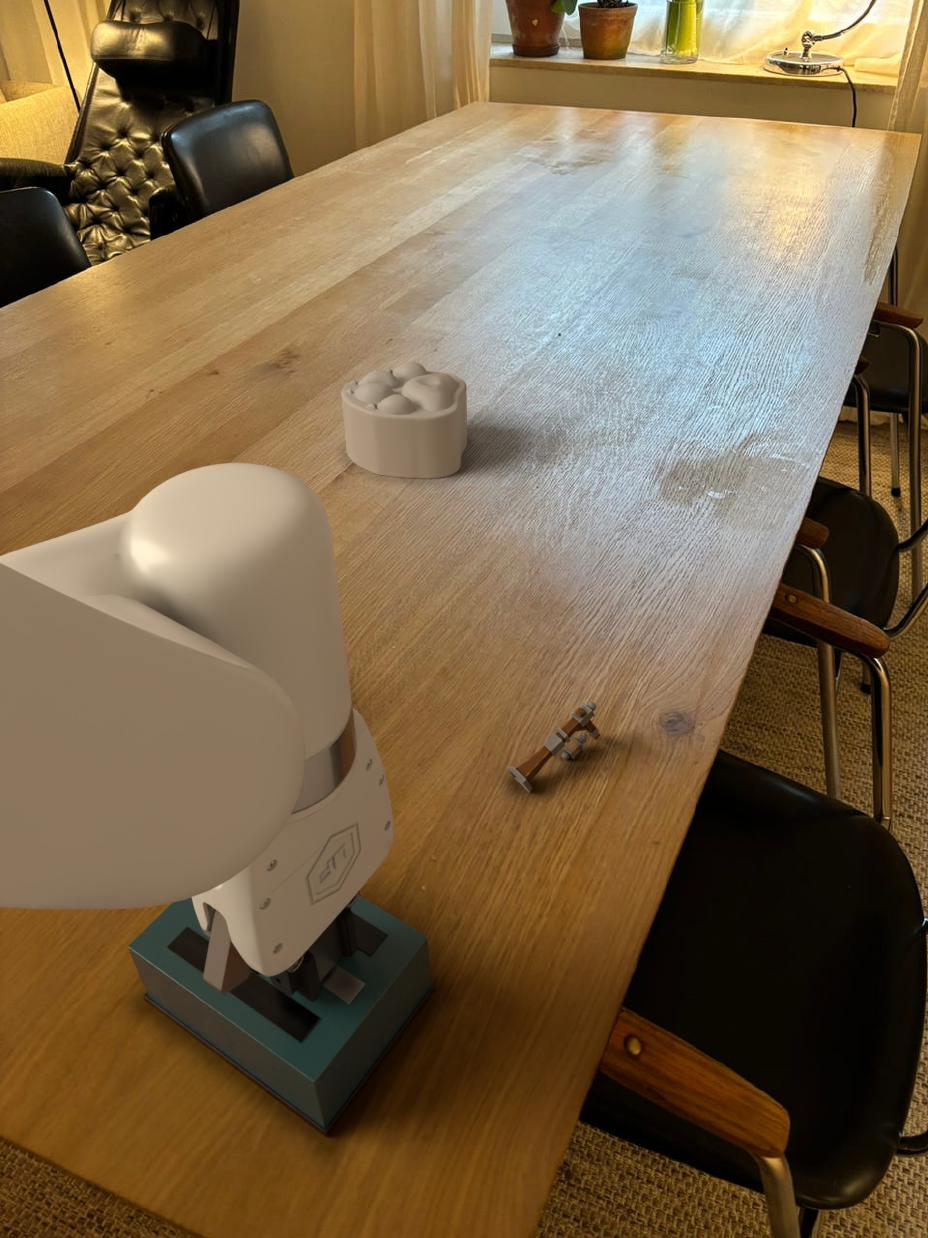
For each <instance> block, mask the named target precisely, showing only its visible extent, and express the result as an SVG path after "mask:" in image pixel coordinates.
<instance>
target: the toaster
mask: <svg viewBox="0 0 928 1238" xmlns="http://www.w3.org/2000/svg"><path fill="white" fill-rule="evenodd" d="M351 911H352V912H353V919H354V925H355V932H356V939H357V945H358V950H357V951H356V952H355V953H354V955H353V956H352V957H350V956H349V957H348V958H346V957H344V956H343V955H342V957H341V958H340V959H339V960H338V961H337V963H336V964H335V965H334V966H333V967H332V969H331V970H330V971H329V972H328V973H327V975H326V976H325V977H324V978H323V979H322V981H321V982H320V985H321V991H320V992H321V995H320V996H319V997H318V998H317V999H316V1001H315V1002H311V1001H310V1000H308V999H307V998H305V997H304V996H302V995H301V994H299V993H298V992H296V991H295V993H294V994H293V995H292V996H289V995H287V994H285V993H284V992H282V991H281V990H279V989H278V988H277V987H276V986H275V985H274V984H273V983H272V982H271V980H270V977H267V976H265V975H263V974H260V975H257V974H256V973H254V972H253V973H251V974H250V975H249V978H248V979H247V980H245V981H244V982H242V983H241V984H240V985H238V986H237V987H235V988H234V989H232V990H231V991H229V992H228V993H226V994H221V993H220V992H219V991H217V990H216V989H214V988H213V987H211V986H210V985H209V984H207V983H206V982H204V980H203V974H204V969H205V963H206V957H207V952H208V946H209V940H210V937H208V936H207V935H206V934H205V933H204V931H203V930H202V927H201V925H200V923H199V920H198V917H197V915H196V912H195V909H194V905H193V901H192V897H191V898H188V899H185V900H181V901H177V902H173V903H169V904H168V906H167V907H166V908H165V909H164V910H163V911H162V912H161V913H160V914H159V915H158V916H157V917H156V918H155V919H154V920H152V922H151V923H150V924H149V925H148V926H147V927H145V928H144V929H143V931H142V932H140V933H139V934H138V935H137V936H136V937H135V938H134V939H133V940H132V941H131V942H130V943H129V944H128V945H127V949H128V952H129V954H130V956H131V958H132V962H133V964H134V966H135V968H136V971H137V973H138V975H139V977H140V980H141V982H142V985H143V987H144V990H145V994H143V999H144V1001H145V1002H146V1003H147V1004H148V1005H150V1006H151V1007H153V1008H154V1009H155V1010H157V1011H158V1012H159V1013H160V1014H162V1015H163V1016H165V1017H166V1018H167V1019H169V1021H171V1022H172V1023H174V1024H175V1025H176V1026H178V1027H179V1028H180V1029H182V1030H183V1031H184V1032H186V1033H187V1034H188V1035H190V1036H191V1037H192V1038H194V1039H195V1040H196V1041H198V1042H199V1043H200V1044H202V1045H203V1047H205V1048H206V1049H208V1050H210V1051H211V1053H214V1054H215V1055H216V1056H217V1057H219V1058H220V1059H221V1060H222V1061H224V1062H226V1063H227V1064H228V1065H229V1066H230V1067H232V1068H233V1069H235V1070H236V1071H237V1072H239V1073H240V1074H241V1075H243V1076H244V1077H245V1078H246V1079H248V1080H249V1081H251V1082H252V1083H253V1084H255V1085H256V1086H258V1088H260V1089H261V1090H262V1091H264V1092H265V1093H266V1094H268V1095H269V1096H271V1097H272V1098H273V1099H275V1100H276V1101H277V1102H278V1103H279V1104H281V1105H282V1106H283V1107H285V1108H287V1109H288V1110H289V1111H291V1112H292V1113H293V1114H294V1115H296V1116H297V1117H298V1118H300V1119H301V1120H303V1121H304V1122H305V1123H306V1124H308V1125H309V1126H310V1127H311V1128H313V1129H314V1130H316V1131H317V1132H318V1133H319V1134H321V1135H322V1136H323V1137H325V1138H328V1136H329V1135H330V1134H331V1133H332V1131H333V1130H334V1129H335V1127H336V1126H337V1125H338V1123H339V1122H340V1120H341V1119H342V1118H343V1116H344V1115H345V1114H346V1112H347V1111H348V1110H349V1109H350V1107H351V1106H352V1104H353V1103H354V1102H355V1100H356V1099H357V1098H358V1096H359V1095H360V1094H361V1092H362V1091H363V1089H364V1088H365V1087H366V1085H367V1084H368V1083H369V1081H370V1080H371V1078H372V1077H373V1076H374V1075H375V1073H376V1072H377V1070H378V1069H379V1068H380V1066H381V1065H382V1064H383V1062H384V1061H385V1060H386V1058H387V1057H388V1055H390V1053H391V1051H392V1050H393V1049H394V1047H395V1046H396V1045H397V1044H398V1042H399V1041H400V1040H401V1038H402V1037H403V1035H404V1034H405V1032H406V1031H407V1030H408V1028H409V1027H410V1026H411V1024H412V1023H413V1022H414V1021H415V1019H416V1018H417V1016H418V1015H419V1014H420V1012H422V1010H423V1008H424V1007H425V1006H426V1004H427V1003H428V1002H429V1000H430V998H431V997H432V996H433V995H434V994H435V992H436V991H437V987H436V984H434V983H433V982H431V967H430V951H429V937H428V936H427V935H425V934H423V933H422V932H420V931H419V930H417V929H415V928H414V927H412V926H410V925H408V924H406V923H405V922H403V921H401V920H400V919H398V918H397V917H395V916H393V915H392V914H390V913H389V912H387V911H386V910H383V908H380V907H379V906H377V905H375V904H373V903H372V902H371V901H369V900H368V899H365V898H364V897H363V896H360V894H359V895H358V898H357V900H356V901H355V903H354V904H353V905H352V906H351Z"/></svg>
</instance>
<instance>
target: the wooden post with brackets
mask: <svg viewBox="0 0 928 1238" xmlns="http://www.w3.org/2000/svg"><path fill="white" fill-rule="evenodd" d="M596 710H597V703H595V702H594V701H589V702H588V703H584V702H582V704H581V705H580V706H579V707H578V708H577V709H576V710H574V712H573V713H572V714H571V718H570V719H569V720H568V721H567V722H566V723H564V724H563V726H562V727H557V728H556V729H555V731H556V733H555V732H552V733H551V735H550V737H548V738H547V739H546V740H545V741H544V742H542V747H541V748H539V750H537V751H536V752H535V753H534V754H533V755H531V756H530V757H529V758H527V759H526V760H525V761H524V762H522V763H521V764H519V765H517V766H516V767H514V766H513V765H512V764H511V765H510V766H509V767H507V768H506V769H507V770H508V772H510V774H511V775H512V777H513V778H514V779H515V780H516V781H517V782H518V783H519V785H521V786H522V787H523V788H524V789H525V790H526V791H527V792H528V793H531V791H532V790H533V789H534V787H532V785H531V784H532V782H533V780H534V779H535V778H536V776H537V775H538V774H539V773H540V771H541V770H542V769H543V767H544V766H545V764H546V763H548V761H549V760H550V759H552V757H554V758H555V757H556V755H557V754H558V753H559V752H560V751H561V750H562V749H563V752H562V753H561V754H560V755H561V759H562V760H564V761H567V760H569V759H570V758H571V759H573V760H575V758H576V756H577V755H578V754H579V753H580V752H581V751H583V752H585V747H584V744H585V743H587V738H589V737H592V738H593V739H594V740H596V741H597V740H598V739H599V737H601V734H600V730H599V729H598V727H597V726H596V725H595V724H594V722H593V721H592V718H594V717H595V716H596V714H595V711H596ZM582 731H585V732H584V735H582V734H579V736H578V737H574V736H573V735H574V734H575V733H577V732H582ZM588 734H589V735H588ZM570 738H571V739H570ZM566 743H567V744H566Z"/></svg>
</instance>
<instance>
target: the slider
mask: <svg viewBox="0 0 928 1238" xmlns="http://www.w3.org/2000/svg"><path fill="white" fill-rule="evenodd" d="M308 951H310V952H311V953H312V954H313V955H314V957H315V960H316V965H317V970H318V975H319V980H320V982H321V981H322V979H323V978H324V977H325V976H326V975H327V973H328V972H329V971H330V970H331V969H332V967H333V966H334V965H335V964H336V963H337V961H338V960H339V959H340V958H341V957H342V952H341V946H340V940H339V935H338V929H337V923H336V918H335V919H334V920H333V921H332V922H331V924H330V925H329V926H328V927H327V928H326V929H325V930H324V932H323V933H322V934H321V935H320V936H319V937H318V938H317V940H316V941H315V942H314V943H313V944H312V945H311V946H310V947H309V948H308Z"/></svg>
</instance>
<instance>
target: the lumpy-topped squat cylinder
mask: <svg viewBox="0 0 928 1238" xmlns="http://www.w3.org/2000/svg"><path fill="white" fill-rule="evenodd" d="M467 388H468V386H467V383H466V381H465V380H464V379H462V378H461V377H459V376H458V375H454V374H451V373H448V372H440V371H429V370H427V369H426V368H425V367H424V366H423V365H422V364H421V363H419V362H415V361H407V362H404V363H402V364H399V365H398V366H396V367H394V369H389V368H388V369H374V370H372V371H370V372H368V373H367V374H366V375H363V376H361V377H358V378H355V379H354V380H351V381H349V382H348V383H346V384H345V385H344V386H343V387H342V390H341V394H340V396H341V407H342V408H341V409H342V415H343V416H342V418H343V429H344V438H345V448H346V449H345V450H346V454H347V456H348V458H349V459H350V460H351V462H352V463H354V464H355V465H357V466H358V467H359V468H362V469H364V470H365V471H369V472H370V473H373V474H376V475H380V476H384V477H385V476H386V477H393V478H404V479H428V480H429V479H442V478H446V477H449V476H453V475H454V474H456V473H457V472H458V471H459V470H460V469H461V466H462V455H463V453H464V452H465V451H466V448H467V446H468V404H467V403H468V393H467V390H468V389H467Z"/></svg>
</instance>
